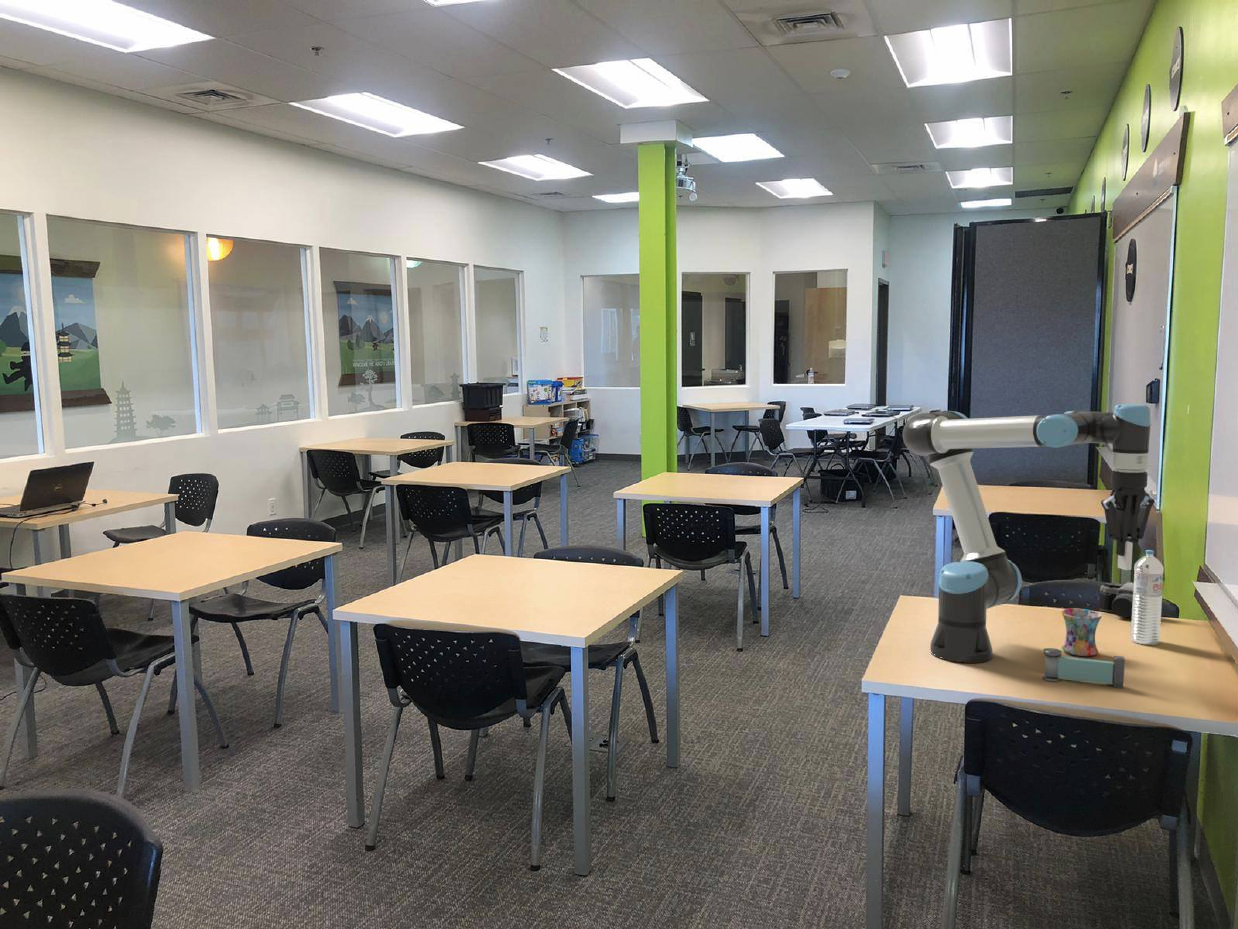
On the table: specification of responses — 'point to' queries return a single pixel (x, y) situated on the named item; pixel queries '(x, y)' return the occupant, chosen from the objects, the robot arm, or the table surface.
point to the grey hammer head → (1052, 653)
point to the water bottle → (1147, 600)
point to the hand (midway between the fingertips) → (1124, 568)
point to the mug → (1080, 631)
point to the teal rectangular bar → (1079, 669)
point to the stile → (1118, 672)
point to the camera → (1117, 598)
